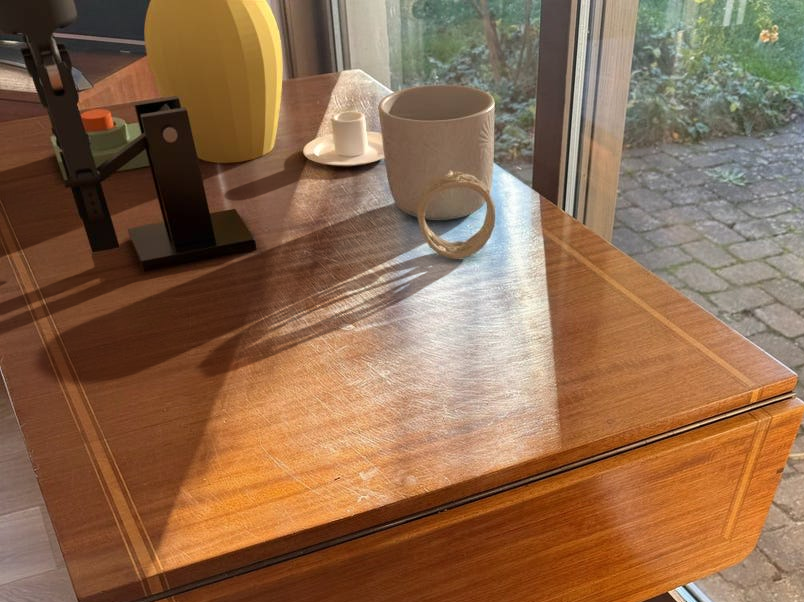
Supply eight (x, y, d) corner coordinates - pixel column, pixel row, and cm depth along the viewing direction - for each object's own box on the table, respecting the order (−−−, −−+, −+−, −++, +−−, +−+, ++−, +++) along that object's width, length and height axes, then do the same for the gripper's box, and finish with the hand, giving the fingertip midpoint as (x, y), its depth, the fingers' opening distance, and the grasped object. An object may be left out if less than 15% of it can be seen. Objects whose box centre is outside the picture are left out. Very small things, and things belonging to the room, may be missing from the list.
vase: (178, 179, 120) (111, -105, 100) (164, 137, 131) (101, -127, 111) (308, 160, 123) (267, -119, 103) (283, 120, 134) (243, -139, 114)
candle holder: (372, 176, 119) (369, 138, 116) (286, 165, 122) (280, 128, 119) (413, 142, 127) (411, 106, 124) (331, 133, 130) (327, 97, 127)
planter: (393, 234, 107) (383, 126, 99) (383, 191, 116) (373, 89, 108) (504, 223, 108) (503, 116, 100) (486, 181, 117) (484, 80, 109)
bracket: (144, 272, 102) (104, 130, 92) (130, 239, 108) (91, 102, 98) (257, 249, 105) (230, 109, 95) (237, 219, 111) (210, 84, 101)
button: (86, 135, 121) (82, 120, 120) (83, 126, 124) (78, 111, 122) (116, 131, 122) (112, 115, 121) (112, 122, 125) (107, 107, 123)
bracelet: (497, 258, 102) (496, 178, 96) (421, 263, 102) (415, 184, 96) (493, 241, 105) (491, 163, 99) (419, 247, 104) (413, 169, 99)
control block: (64, 180, 121) (53, 146, 118) (55, 154, 127) (44, 121, 124) (162, 163, 124) (154, 129, 121) (148, 139, 130) (140, 106, 127)
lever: (91, 208, 98) (73, 188, 96) (84, 191, 101) (67, 171, 99) (188, 135, 97) (172, 113, 95) (178, 120, 100) (163, 99, 99)
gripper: (80, -6, 80) (153, 265, 96) (51, -54, 94) (119, 189, 110) (-17, 6, 78) (75, 280, 94) (-32, -45, 92) (50, 201, 108)
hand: (99, 231), depth 102 cm, fingers open, 9 cm apart
